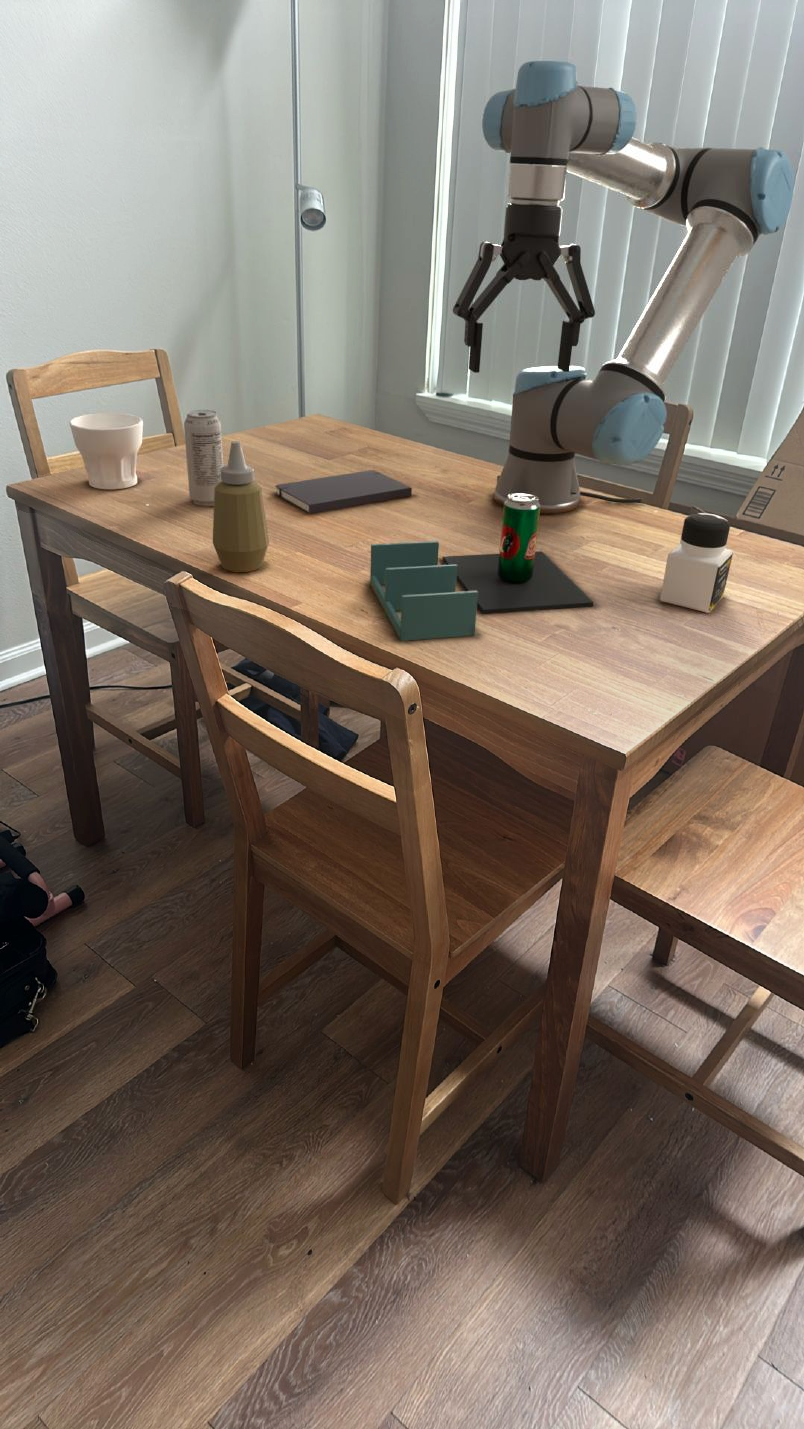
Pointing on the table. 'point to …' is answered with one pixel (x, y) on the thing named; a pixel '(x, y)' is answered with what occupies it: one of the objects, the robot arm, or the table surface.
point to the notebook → (342, 491)
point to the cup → (108, 448)
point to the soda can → (518, 537)
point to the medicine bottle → (698, 564)
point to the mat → (517, 585)
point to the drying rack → (421, 592)
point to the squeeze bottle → (239, 516)
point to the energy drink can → (203, 455)
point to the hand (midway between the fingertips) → (519, 370)
